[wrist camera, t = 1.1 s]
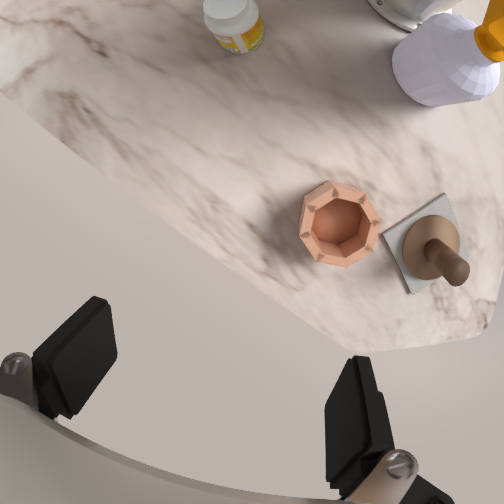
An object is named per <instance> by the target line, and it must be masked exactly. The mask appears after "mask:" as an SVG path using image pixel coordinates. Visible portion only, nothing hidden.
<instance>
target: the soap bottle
mask: <svg viewBox="0 0 504 504" xmlns="http://www.w3.org/2000/svg"><path fill="white" fill-rule="evenodd" d="M501 61H504V0H490V2H489V5H488V8H487V12H486V15H485V18H484V21H483V24H482V25H480V26H477V25H475V24H474V23H473V22H472V21H470V20H468V19H467V18H465V17H463V16H461V15H457V14H452V13H440V14H436V15H432V16H431V17H429V18H428V19H427V20H426V21H425V22H423V23H422V24H421V25H420V26H419V27H417V28H416V29H415V30H414V31H413V32H412V33H410V34H409V35H408V36H407V37H406V38H405V39H403V40H402V41H401V42H400V43H399V44H398V46H397V47H396V48H395V49H394V53H393V56H392V67H393V73H394V75H395V77H396V80H397V82H398V84H399V85H400V86H401V88H402V89H403V90H404V92H405V93H406V94H407V95H408V96H410V97H411V98H412V99H414V100H415V101H416V102H418V103H421V104H423V105H426V106H444V105H450V104H456V103H463V102H469V101H476V100H481V99H483V98H485V97H487V96H490V94H491V93H492V92H493V91H494V89H495V88H496V86H497V85H498V83H499V78H500V65H499V62H501Z"/></svg>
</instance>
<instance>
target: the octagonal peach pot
mask: <svg viewBox="0 0 504 504" xmlns="http://www.w3.org/2000/svg"><path fill="white" fill-rule="evenodd" d="M380 224H381V221H380V219H379V217H378V215H377V213H376V212H375V210H374V208H373V206H372V204H371V203H370V201H369V199H368V197H367V196H366V194H365V193H363V192H362V191H361V190H359V189H358V188H357V187H354V186H350V185H346V184H341V183H337V182H333V181H329V180H328V181H327V182H325V183H324V184H322V185H320V186H319V187H317V188H316V189H314V190H313V191H311V192H310V193H308V194H306V195H305V196H304V200H303V205H302V210H301V214H300V219H299V237H300V238H301V239H302V241H303V242H304V244H305V245H306V247H307V248H308V250H309V251H310V253H311V254H312V256H313V257H314V259H315V260H316V262H321V263H326V264H331V265H336V266H341V267H346V268H347V267H348V266H350V265H351V264H353V263H355V262H356V261H358V260H360V259H361V258H363V257H365V256H366V255H368V254H370V253H371V252H373V248H374V245H375V242H376V238H377V235H378V231H379V228H380Z"/></svg>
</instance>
